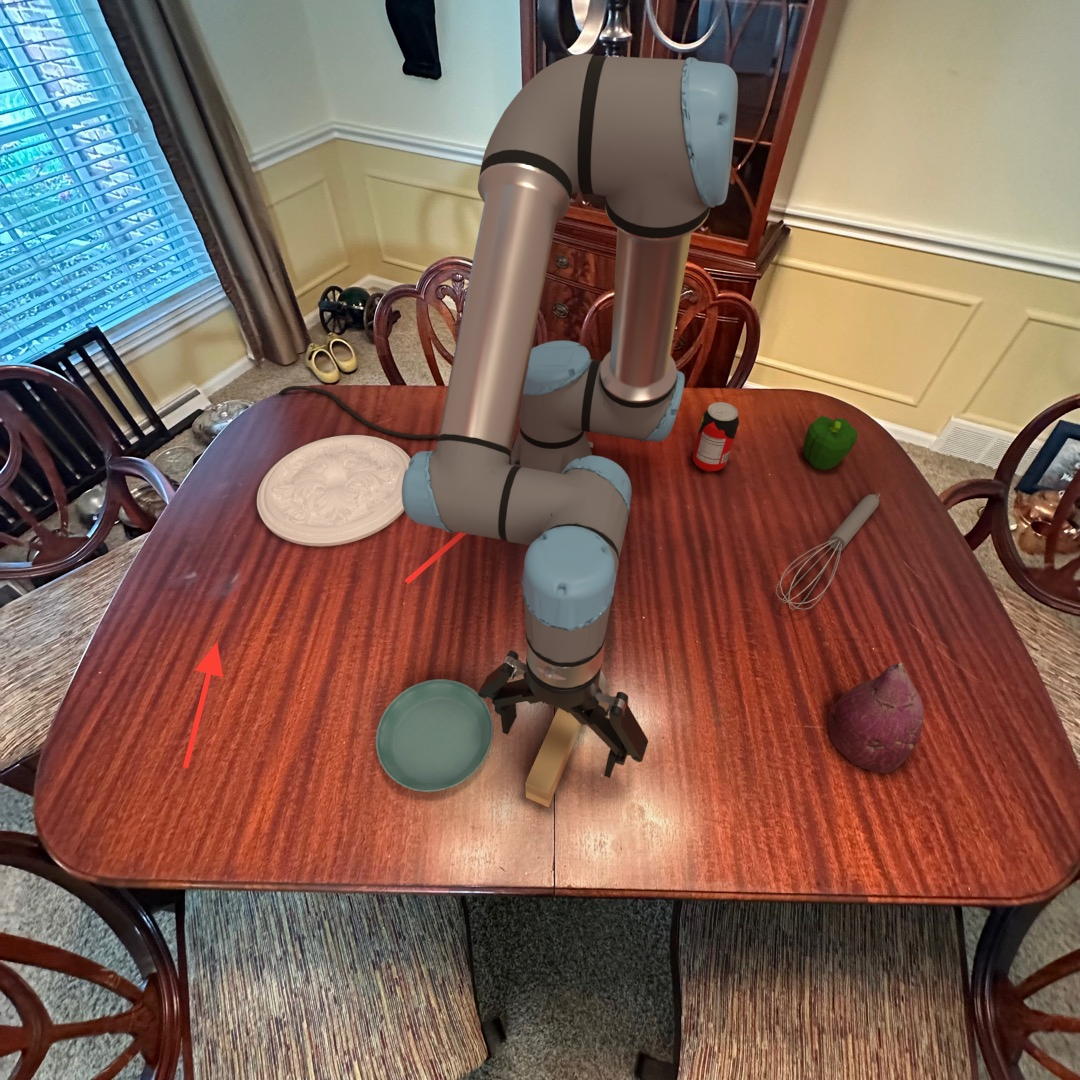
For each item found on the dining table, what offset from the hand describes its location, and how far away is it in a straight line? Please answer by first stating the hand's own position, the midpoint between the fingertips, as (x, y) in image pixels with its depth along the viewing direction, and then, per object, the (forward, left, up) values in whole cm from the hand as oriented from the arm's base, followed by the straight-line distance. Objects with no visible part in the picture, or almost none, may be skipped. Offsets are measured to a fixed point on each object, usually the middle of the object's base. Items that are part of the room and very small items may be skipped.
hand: (558, 745), depth 75 cm
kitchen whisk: (+28, +48, -3) cm, 56 cm away
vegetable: (+36, +18, -3) cm, 40 cm away
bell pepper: (+24, +71, -3) cm, 75 cm away
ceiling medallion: (-55, +29, -3) cm, 62 cm away
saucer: (-15, -5, -3) cm, 16 cm away
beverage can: (+5, +62, -3) cm, 63 cm away
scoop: (0, +2, -2) cm, 3 cm away
